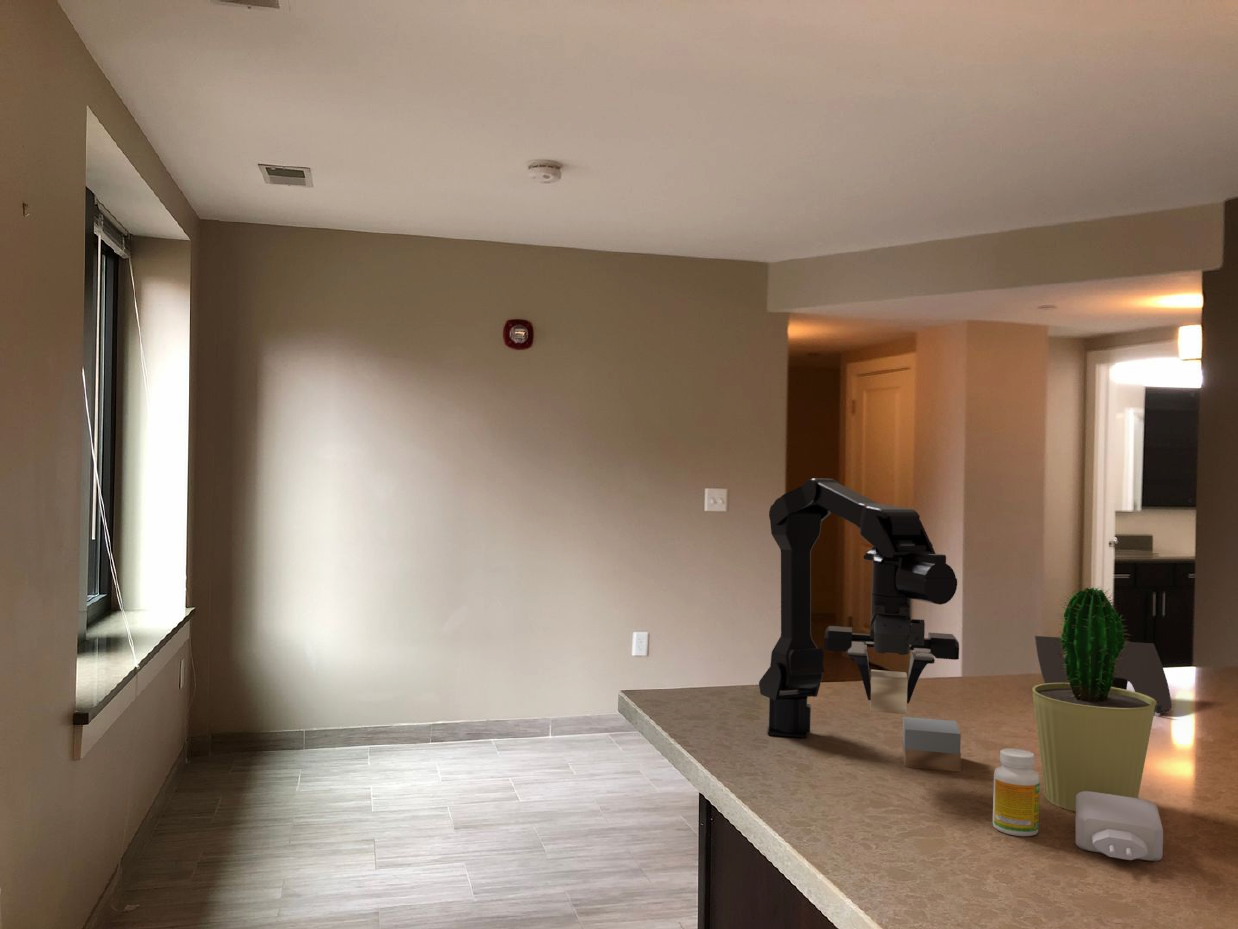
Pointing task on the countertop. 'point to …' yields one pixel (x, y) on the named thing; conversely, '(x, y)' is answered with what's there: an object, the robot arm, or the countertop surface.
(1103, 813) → the charger
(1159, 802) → the countertop surface
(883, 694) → the birch cube
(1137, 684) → the portable electronic device stand
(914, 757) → the walnut block
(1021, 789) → the supplement bottle
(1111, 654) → the potted cactus
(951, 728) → the slate block
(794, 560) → the robot arm
